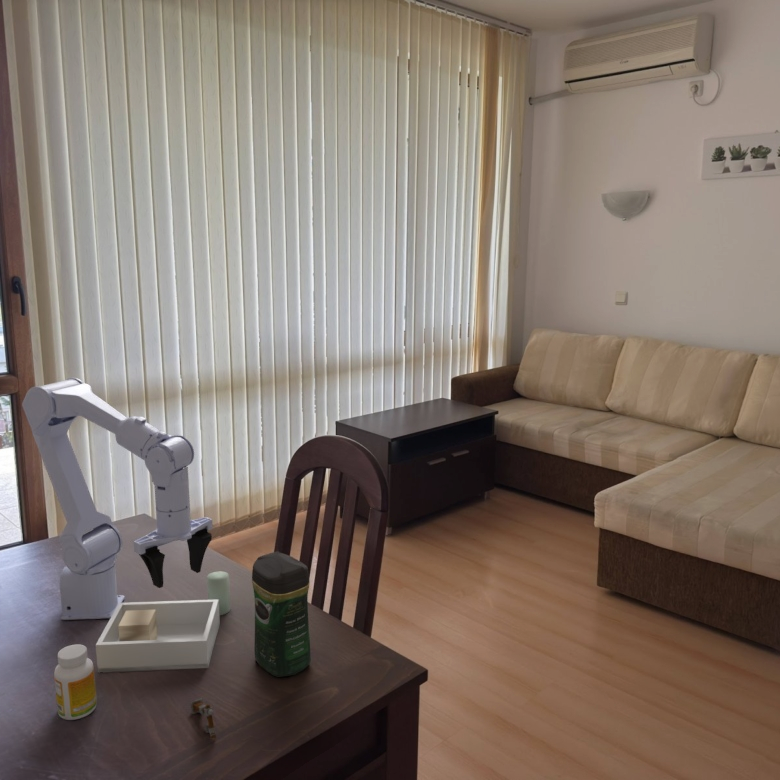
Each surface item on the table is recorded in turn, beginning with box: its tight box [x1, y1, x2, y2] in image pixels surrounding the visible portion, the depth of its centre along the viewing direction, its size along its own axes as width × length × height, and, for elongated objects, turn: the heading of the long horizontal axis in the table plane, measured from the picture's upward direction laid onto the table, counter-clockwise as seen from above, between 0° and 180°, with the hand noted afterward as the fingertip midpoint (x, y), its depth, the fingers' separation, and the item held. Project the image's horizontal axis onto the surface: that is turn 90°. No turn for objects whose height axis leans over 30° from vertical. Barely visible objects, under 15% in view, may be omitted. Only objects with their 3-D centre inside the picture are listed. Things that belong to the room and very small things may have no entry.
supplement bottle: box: [53, 643, 98, 721], centre depth 107 cm, size 5×5×10 cm
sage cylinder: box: [206, 570, 231, 616], centre depth 136 cm, size 4×4×7 cm
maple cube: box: [118, 610, 157, 641], centre depth 123 cm, size 5×5×5 cm
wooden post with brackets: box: [189, 698, 217, 739], centre depth 105 cm, size 2×8×4 cm, turn 32°
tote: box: [95, 599, 221, 674], centre depth 124 cm, size 18×14×5 cm
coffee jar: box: [251, 550, 312, 678], centre depth 119 cm, size 10×8×19 cm
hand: (177, 578), depth 128 cm, fingers open, 7 cm apart
